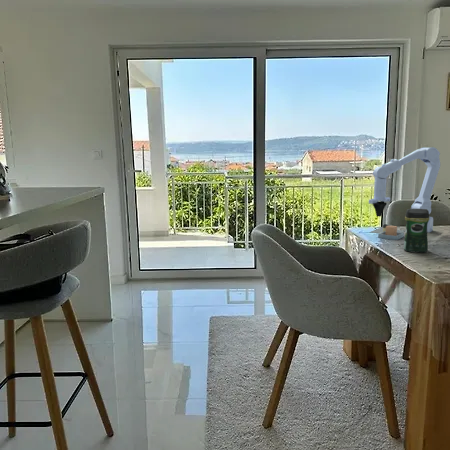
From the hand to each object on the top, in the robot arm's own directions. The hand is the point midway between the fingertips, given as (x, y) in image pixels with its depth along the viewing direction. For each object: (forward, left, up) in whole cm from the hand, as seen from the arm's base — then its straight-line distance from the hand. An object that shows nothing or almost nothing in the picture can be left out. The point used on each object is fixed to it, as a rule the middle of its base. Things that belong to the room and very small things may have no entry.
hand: (378, 216), depth 207 cm
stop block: (-10, +10, -9) cm, 16 cm away
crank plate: (-4, -3, -9) cm, 11 cm away
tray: (-10, +10, -9) cm, 17 cm away
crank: (-4, 0, -8) cm, 9 cm away
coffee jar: (-26, +25, -10) cm, 37 cm away
